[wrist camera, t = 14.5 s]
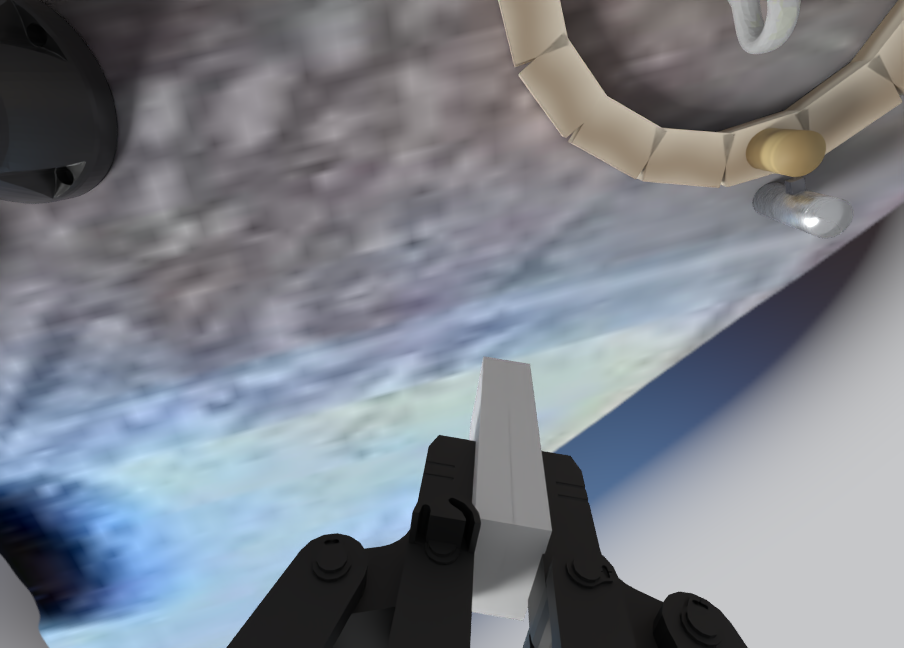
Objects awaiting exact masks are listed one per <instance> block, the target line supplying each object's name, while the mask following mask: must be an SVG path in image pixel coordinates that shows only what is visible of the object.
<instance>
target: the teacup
mask: <svg viewBox="0 0 904 648" xmlns="http://www.w3.org/2000/svg"><path fill="white" fill-rule="evenodd" d="M728 2H729V4H730V6H731V7H732V13H733V19H734V24H735V29H736V34H737V38H738V40H739V43H740V45H741V46H742V48H743V49H744V50H745V51H746V52H748V53H751V54H761V53H766V52H771V51H773V50H775V49H777V48H778V47H780V46H781V45H782V44H784V43H785V42H786V40H787V39H788V38H789V36H790V35H791V34H792V32H793V30H794V28H795V25H796V23H797V20H798V16H799V12H800V3H801V0H767V7H768V10H767V17H766V22H765V25H764V22H763V19H762V14H761V8H760V0H728Z"/></svg>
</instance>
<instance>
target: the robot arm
mask: <svg viewBox="0 0 904 648" xmlns="http://www.w3.org/2000/svg"><path fill="white" fill-rule="evenodd" d="M116 145H117V119H116V112H115V107H114V103H113V99H112V95H111V92H110V89H109V86H108V84H107V81H106V79H105V77H104V74H103V72H102V70H101V68H100V66H99V65H98V63H97V61H96V59H95V58H94V56H93V54H92V53H91V51H90V50H89V48H88V47H87V46H86V44H85V43H84V41H83V40H82V39H81V38H80V36H79V35H78V34H77V33H76V32H75V31H74V30H73V28H72V27H71V26H70V25H69V24H68V23H67V22H66V21H65V20H64V19H63V18H61V17H60V16H59V15H58V14H57V13H56V12H55V11H53V10H52V9H51V8H49V7H48V6H47V5H45V4H44V3H42V2H41V1H39V0H0V200H5V201H12V202H19V203H29V204H38V203H50V202H55V201H60V200H65V199H69V198H74V197H77V196H80V195H82V194H84V193H86V192H88V191H90V190H91V189H93V188H94V187H95V186H96V185H97V184H98V183H99V182H100V181H101V180H102V179H103V178H104V176H105V175H106V173H107V172H108V170H109V168H110V166H111V164H112V161H113V158H114V154H115V150H116ZM527 608H528V610H529V611H528V612H529V630H528V633H527V637H526V639H525V642H524V645H523V648H747V646H746V645H745V643H744V642H743V640H742V639H741V637H740V636H739V634H738V633H737V631H736V630H735V628H734V627H733V625H732V624H731V623H730V621H729V620H728V619H727V618H726V617H725V616H724V614H723V613H722V612H721V611H720V610H719V609H718V608H716V607H715V606H713V605H712V604H711V603H710V602H708V601H707V600H705V599H703V598H701V597H698V596H697V595H694V594H692V593H685V592H676V593H673V594H670V595H668V597H667V598H666V599H665V601H664V602H662V601H659V600H657V599H655V598H653V597H651V596H649V595H647V594H644V593H642V592H640V591H638V590H636V589H634V588H632V587H631V586H629V585H627V584H625V583H624V582H623V581H622V580H620V579H619V578H618V576H617V574H616V572H615V570H614V567H613V566H612V565H611V564H610V563H609V562H608V560H607V559H606V558H605V557H604V556H603V555H602V554H601V551H600V548H599V543H598V539H597V535H596V531H595V527H594V522H593V518H592V514H591V509H590V505H589V503H588V497H587V493H586V490H585V484H584V480H583V475H582V471H581V470H580V468H579V467H578V466H577V464H576V463H575V462H574V460H573V459H572V457H571V456H568V455H562V454H556V453H550V452H544V451H541V444H540V436H539V429H538V421H537V414H536V406H535V398H534V391H533V383H532V376H531V368H530V364H526V363H520V362H514V361H508V360H502V359H496V358H490V357H484V356H483V362H482V367H481V372H480V377H479V382H478V388H477V393H476V398H475V403H474V409H473V414H472V419H471V424H470V435H469V440H466V439H460V438H454V437H448V436H442V435H439V436H438V437H437V438H436V439H435V440H434V441H433V442H432V443H431V445H430V446H429V448H428V453H427V458H426V464H425V468H424V473H423V478H422V483H421V488H420V493H419V498H418V502H417V504H416V506H415V508H414V510H413V513H412V520H411V527H410V530H409V531H408V533H407V534H406V535H405V536H404V537H402V538H401V539H400V540H398V541H396V542H394V543H392V544H390V545H386V546H381V547H374V548H366V549H364V548H363V546H362V545H361V543H360V542H358V541H357V540H355V539H354V538H352V537H350V536H347V535H342V534H338V533H337V534H328V535H323V536H320V537H318V538H316V539H314V540H312V541H310V542H309V543H308V544H307V545H306V546H305V547H304V548H303V549H301V551H300V552H299V553H298V554H297V556H296V557H295V558H294V560H293V561H292V562H291V564H290V565H289V566H288V568H287V569H286V570H285V572H284V573H283V574H282V575H281V577H280V578H279V579H278V581H277V582H276V583H275V585H274V586H273V587H272V589H271V590H270V591H269V593H268V594H267V595H266V596H265V598H264V599H263V600H262V602H261V603H260V604H259V606H258V607H257V608H256V610H255V611H254V612H253V613H252V615H251V616H250V617H249V619H248V620H247V621H246V623H245V624H244V625H243V627H242V628H241V629H240V631H239V632H238V633H237V634H236V636H235V637H234V638H233V640H232V641H231V642H230V644H229V645H228V646H227V648H470V636H471V616H472V614H471V613H472V612H475V613H481V614H487V615H493V616H498V617H504V618H509V619H516V620H521V621H523V620H524V617H525V614H526V611H527Z"/></svg>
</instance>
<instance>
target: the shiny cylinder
mask: <svg viewBox="0 0 904 648" xmlns="http://www.w3.org/2000/svg"><path fill="white" fill-rule="evenodd" d="M784 182H785V185H784V184H781V183H769V184H766V185H764V186H763V187H761V188H760V189H759V190H758V191H757V192H756V194H755V196H754V199H753V207H754V209H755V211H756V212H757V213H759V214H761V215H763V216H766V217H768V218H771V219H773V220H776V221H778V222H781V223H783V224H786V225H789V226H791V227H794V228H796V229H799V230H801V231H804V232H806V233H809V234H811V235H814V236H817V237H819V238H832V237H835V236H837V235H839V234H841V233H842V232H843V231H844V230H846V228H847V227H848V226H849V225H850V223H851V221H852V218H853V208H852V206H851V205H850V203H849V202H847V201H846V200H843V199H839V198H835V197H831V196H827V195H823V194H820V193H816V192H812V191H808V190H806V187H805V178H803V177H794V178H791V179H788V180H785V181H784Z"/></svg>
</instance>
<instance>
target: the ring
mask: <svg viewBox="0 0 904 648" xmlns="http://www.w3.org/2000/svg"><path fill="white" fill-rule="evenodd" d="M498 2H499V6H500V10H501V14H502V18H503V22H504V26H505V30H506V34H507V38H508V42H509V47H510V51H511V55H512V59H513V63H514V67H517V66H520V65H523V64H525V63H528V62H531V61H532V62H531V63H530V64H529V65H528V66H527V67H526V68H525V69H524V70H523V71H522V72H520V73H519V75H518V76H519V77H520V78H521V80H522V81H523V83H524V84H525V85H526V87H527V88H528V90H529V91H530V92H531V94H532V95H533V96H534V98H535V99H536V101H537V102H538V103H539V105H540V106H541V107H542V109H543V110H544V112H545V113H546V114H547V116H548V117H549V119H550V120H551V121H552V123H553V124H554V125H555V127H556V128H557V130H558V131H559V132H560V134H561V135H562V136H563V137H565V138H567V137H568V136H569V135H570V134H571V133H573V134H572V136H571V137H570V139H569V141H568V142H570V143H572V144H573V145H575V146H577V147H579V148H580V149H582V150H584V151H586V152H588V153H589V154H591V155H593V156H595V157H596V158H598V159H600V160H602V161H604V162H605V163H607V164H609V165H611V166H612V167H614V168H616V169H618V170H620V171H621V172H623V173H625V174H627V175H628V176H630V177H632V178H635V179H640V180H642V181H644V182H656V183H668V184H679V185H691V186H703V187H715V188H719V187H720V185H723V186H726V187H730V186H733V185H736V184H740V183H743V182H747V181H750V180H753V179H757V178H760V177H764V176H767V175H770V174H774V173H778V174H782V175H787V176H791V177H800V176H804V175H806V174H809V173H810V172H812V171H813V170H815V169H816V168H817V167H818V166H819V164H820V163H821V162H822V160H823V158H824V156H825V154H827V153H828V152H830V151H831V150H833V149H834V148H836V147H837V146H838V145H840V144H841V143H843V142H844V141H846V140H847V139H849V138H850V137H852V136H853V135H855V134H856V133H858V132H859V131H861V130H862V129H864V128H865V127H866V126H868V125H869V124H871V123H872V122H874V121H875V120H877V119H878V118H880V117H881V116H883V115H884V114H886V113H887V112H889V111H890V110H892V109H893V108H894V107H896V106H897V105H899V104H900V103H902V100H901V98H900V96H899V95H904V0H898V1H897V3H896V4H895V5H894V6H893V8H892V9H891V10H890V12H889V13H888V14H887V16H886V17H885V18H884V19H883V21H882V22H881V23H880V25H879V26H878V27H877V29H876V30H875V31H874V32H873V34H872V35H871V36H870V38H869V39H868V40H867V42H866V43H865V44H864V45H863V47H862V48H861V49H860V51H859V52H858V53H857V55H856V56H855V57H854V58H853V60H852V61H851V62H850V63H849V64H848V65H846V66H845V67H843V68H842V69H841V70H839V71H838V72H837V73H835V74H834V75H832V76H831V77H830V78H828V79H827V80H826V81H824V82H823V83H821V84H820V85H819V86H817V87H816V88H815V89H813V90H812V91H811V92H809V93H808V94H806V95H805V96H804V97H802V98H801V99H800V100H798V101H797V102H795V103H794V104H793V105H791V106H790V107H789V108H787V109H786V110H784V111H781V112H778V113H775V114H772V115H769V116H766V117H763V118H759V119H756V120H753V121H750V122H747V123H744V124H741V125H737V126H734V127H731V128H728V129H725V130H722V131H718V132H709V131H696V130H684V129H671V128H661V127H660V126H658V125H656V124H654V123H653V122H651V121H649V120H648V119H646V118H644V117H642V116H641V115H639V114H637V113H636V112H634V111H632V110H630V109H629V108H627V107H625V106H624V105H622V104H620V103H618V102H617V101H615V100H613V99H611V98H610V97H608V96H607V95H606V94H605V92H604V91H603V89H602V88H601V86H600V85H599V83H598V82H597V81H596V79H595V78H594V76H593V75H592V73H591V72H590V70H589V69H588V67H587V66H586V64H585V63H584V61H583V60H582V58H581V57H580V55H579V54H578V52H577V51H576V49H575V48H574V46H573V45H572V43H571V42H570V41H569V39H568V37H567V32H566V27H565V22H564V17H563V12H562V7H561V3H560V0H498Z"/></svg>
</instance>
